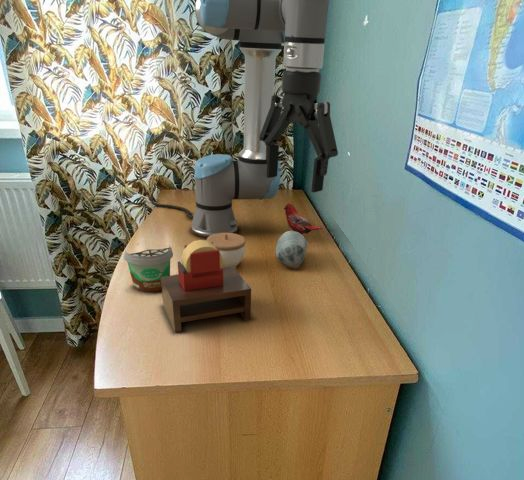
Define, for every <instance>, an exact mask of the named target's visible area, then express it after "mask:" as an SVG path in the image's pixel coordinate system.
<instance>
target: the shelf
mask: <svg viewBox="0 0 524 480" xmlns="http://www.w3.org/2000/svg"><path fill="white" fill-rule="evenodd" d="M161 288H162V291H161V297H162V307H163V309H164V312H165V314H166V316H167V318H168V319H169V322H170V324H171V327H172V329H173V331H174V333H179V332H182V331H183V330H182V323H185V322H191V321H197V320H203V319H208V318H210V319H211V318H216V317H222V316H227V315H232V314H240V316H241V317H242V319H243V320H244V321H247V320H252V319H251V317H252V287H251V286H250V285H249V284H248V283H247V281H246V280H245V279H244V278H243V276H242V275H241V274H240V273H239V271H238V270H237V269H236V267H235V268H234V267H231V268H224V269H223V286H216V287H209V288H202V289H195V290H189V291H184V289H183V287H182V285H181V284H180V282H179V275H178V274H173V275H171V274H170V276H164V277H161Z"/></svg>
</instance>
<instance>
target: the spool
mask: <svg viewBox="0 0 524 480" xmlns="http://www.w3.org/2000/svg"><path fill="white" fill-rule="evenodd" d="M307 249H308V241H307V239H306V237H305V236H304V235H303V234H302V235H301V234H300V233H298V232H296V231H293V230H289V231H285V232H284V233H282V235H280V236H279V237H278V240H277V243H276V247H275V256H276V258H277V260H278V261H279V262H280V263H281V264H282V265H284V267H286V268H290V269H297V268H299V267H300V266H301V264H302V263H303V261H304V260H305V258H306V253H307Z"/></svg>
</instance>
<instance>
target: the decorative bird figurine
mask: <svg viewBox="0 0 524 480" xmlns="http://www.w3.org/2000/svg"><path fill="white" fill-rule="evenodd" d="M283 209H284V212H285V217H286V222H287V224H288V226H289V228H290V229H291V231H296V232H298V233H300V234H301V235H303V234H309V233H311V232H312V231H318V230H321V231H322V230H324V227H320V226H315V225H313V224H311V223H310V221H309V220H307V219H306V217H303V215H301V214H300V213H299V212H298V211H297V209H296V207H295V206H294V205H293V204H292V203H286V205H285V207H283Z"/></svg>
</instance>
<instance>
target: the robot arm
mask: <svg viewBox="0 0 524 480" xmlns="http://www.w3.org/2000/svg"><path fill="white" fill-rule="evenodd" d="M329 2H330V0H196V1H195V6H194V11H195V18H196V21H197V23H198V25H199V26H200V28H201V29H202V30H203V31H204V32H205V33H207V34H209V35H211V36H213V37H215V38H219V39H221V40H227V41H236V42H237V41H238V42H239V50H240V51H241V52H242V54H243V56H244V97H243V98H244V102H243V148H242V150H240V152H239V153H238V160H233V159H234V158H233V157H232V156H231V155H230V154H226V153H225V154H222V153H218V154H211V155H205V156H202V157H200V158H198V159H197V160H196V161H195V162H194V175H193V178H194V187H195V188H194V189H195V190H194V191H195V210H194V212H193V213H194V214H193V215H191V212H190V210H189V209H187V207H183V206H178V205H172V204H165V203H157V202H155V201H154V196H153V195H151V196H150V198H149V199H150V203H151V205H153V206H156V207H161V208H171V209H176V210H181V211H184V212H186V216H187V218H189V219H191V224H190V227H191V233H192V234H193V235H195V236H196V237H199V238H203V239H207V238H208V237H209V236H210V235H213V234H217V233H234V234H238V233H237V232H238V219H236V216H235V214H234V213H235V212H234V210H233V200H259V201H263V200H269V199H273V198H274V197H275V196H276V195H277V193H278V191H279V187H280V183H281V176H282V172H281V170H282V166H281V162H280V161H279V151H280V145H278V144H279V143H278V141H279V140H280V139H281V137H282V136H283V134H284V133H285V131H286V130H287V129H288V127H289V126H290V124H296V125H299V126H302V127H303V128H304V129H305V130H306V133H307V135H308V137H309V139H310V141H311V144H312V147H313V149H314V151H315V153H316V155H317V156H316V158H314V161H313V170H312V171H313V172H312V181H311V193H318V192H321V191H323V188H324V181H325V176H327V173H328V168H329V160H330V159H331V158H335V157H338V155H339V151H338V146H337V141H336V137H335V132H334V127H333V124H332V118H331V102H329V101H324V102H323V101H322V102H321V101H320V102H318V95H319V93H320V91H321V85H322V83H321V82H322V74H321V72H320V70H322V69H323V65H324V54H325V42H326V41H325V39H326V32H327V22H328V12H329V4H330V3H329ZM282 44H283V45H282ZM282 46H283V47H282ZM282 48H283V63H282V66H283V67H284V68H285V69H284V70H283V72H282V75H281V76H282V77H281V78H282V79H281V91H282V93H283V94H275V82H276V81H275V79H276V60H277V59H276V58H277V57H278V55H279V54H280V53H281V52H282Z"/></svg>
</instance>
